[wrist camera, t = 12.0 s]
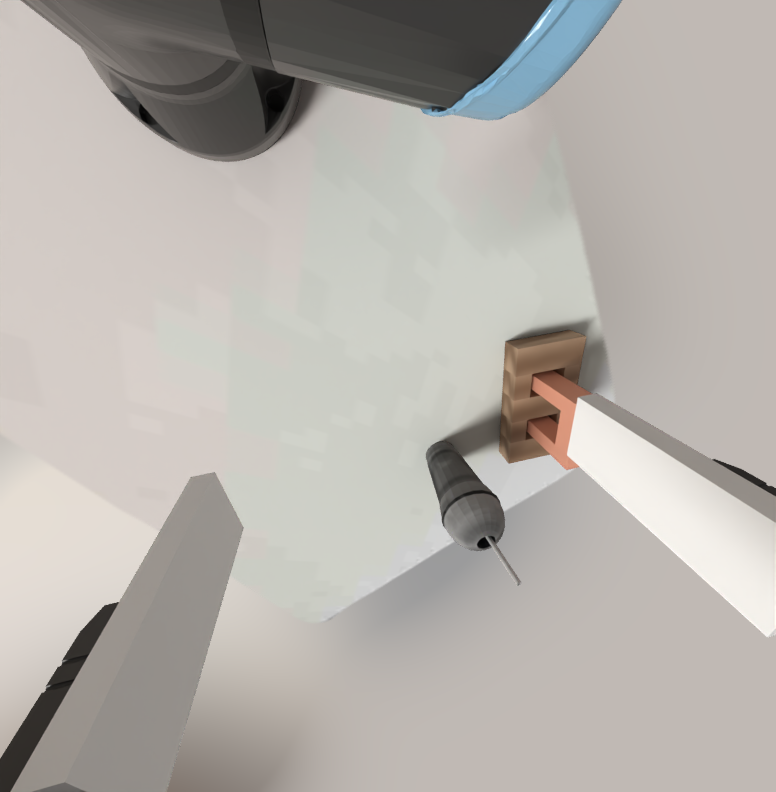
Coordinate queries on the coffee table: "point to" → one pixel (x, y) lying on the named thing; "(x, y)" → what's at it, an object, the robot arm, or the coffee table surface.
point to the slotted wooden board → (520, 399)
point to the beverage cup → (466, 503)
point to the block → (565, 400)
